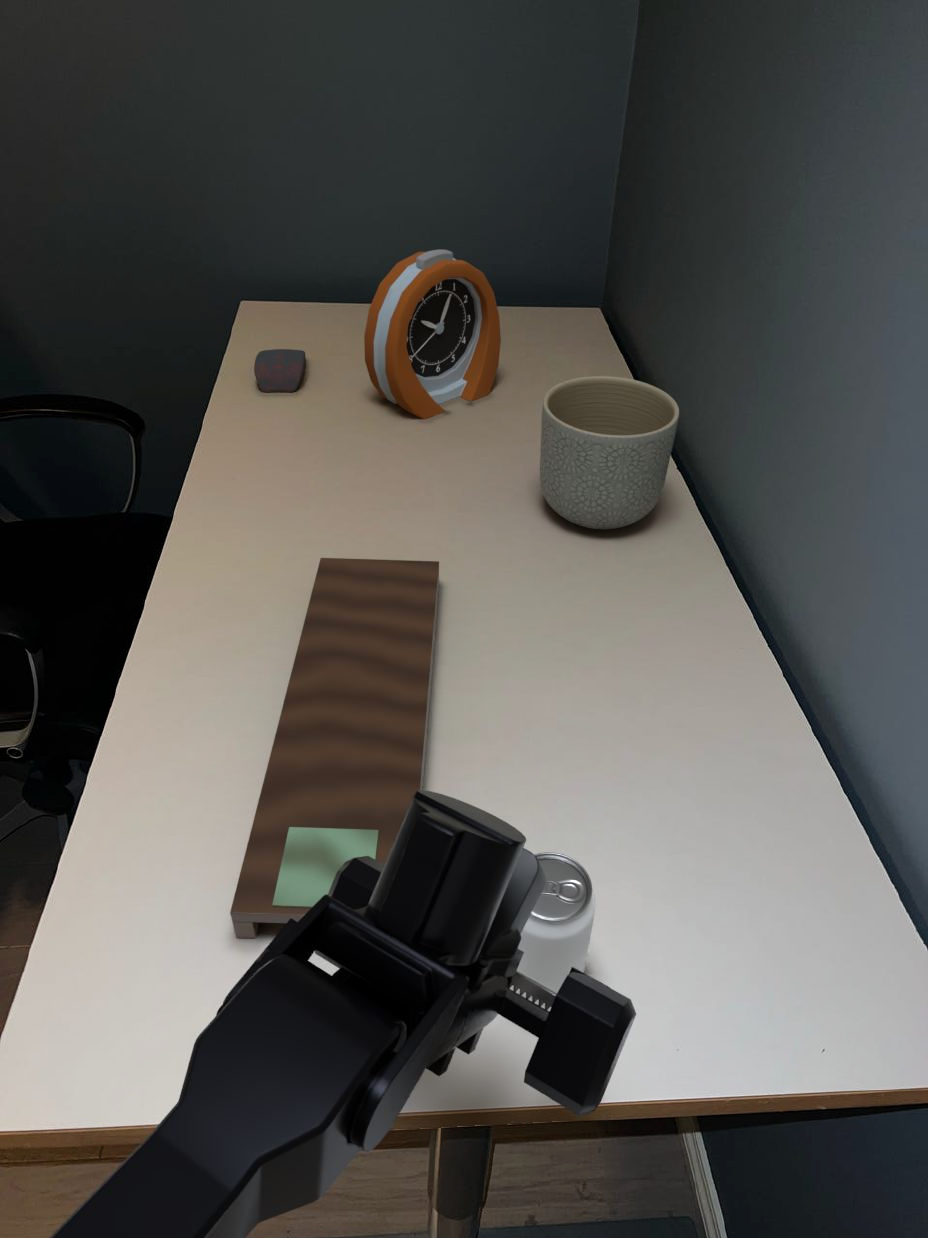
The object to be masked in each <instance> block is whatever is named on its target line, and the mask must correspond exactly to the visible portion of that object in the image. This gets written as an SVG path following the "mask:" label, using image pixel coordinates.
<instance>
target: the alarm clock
mask: <svg viewBox="0 0 928 1238" xmlns="http://www.w3.org/2000/svg"><path fill="white" fill-rule="evenodd" d="M381 280H382V281H380V282H379V285H378V287H377V290H376V292H375V295H374V296H373V299H372V302H371V304H370V306H369V308H368V312H367V313H368V314H367V319H366V325H365V329H364V335H363V341H364V342H363V343H364V362H365V366H366V370H367V373H368V376H369V379H370V382H371V383H372V385H373V387H374V388H375V390H376V391H377V393H378V394H379V396H381V397H382V398H384V399H385V400H387V401H389V402H391V403H392V404H394V405H396V404H397V405H398V406H399V407H400V408H402V409H403V410H405V411H406V412H408V413H410V414H412V415H414V416H415V417H417V418H419V419H423V420H424V419H425V420H426V419H429V418H432V417H435V416H437V415H440V414H442V413H445V412H446V410H445V409H444V408H443V407H442V406H441V405H440V404H443V403H445V402H448V401H451V400H454V399H457V398H459V397H461V399H464V400H466V401H468V402H473V401H475V400H479V399H481V398H483V397H486V396H489V395H490V392H491V390H492V388H493V386H494V383H495V378H496V374H497V371H498V368H499V362H500V351H501V343H502V342H501V341H502V338H501V322H500V321H501V320H500V313H499V310H498V305H497V301H496V295H495V292H494V290H493V288H492V286H491V284H490V283H489V281H488V279H487V277H486V275H485V273H484V271H483V272H482V271H481V270H480V269H478V268H476V267H475V266H473V265H472V264H471V263H469V262H468V261H465V260H462V259H456V258H455V257H454V253H453V252H452V251H451V250H448V249H432V250H428V251H417V252H416V253H414V254H412V255H410V256H408V257H406V258H403V260H400V261H398V262H396V264H395V265H394V266H393V267H392V268H391V270H390V271H389V272H388V273H387V275H385V277H384V278H383V279H381Z"/></svg>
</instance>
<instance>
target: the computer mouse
mask: <svg viewBox="0 0 928 1238" xmlns="http://www.w3.org/2000/svg"><path fill="white" fill-rule="evenodd" d="M305 367H306V352H305V350H302V349H290V348H274V349H263V350H260V351H259V352H258V353H257V354H256V357H255V359H254V365H253V372H254V377H255V380H256V382H257V384H258V387H259V389H260V390H261V392H263V393H294V392H296V391H297V390H298V389H299V387H300V386H301V384H302V382H303V378H304V373H305V369H306V368H305Z"/></svg>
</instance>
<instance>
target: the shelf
mask: <svg viewBox="0 0 928 1238" xmlns="http://www.w3.org/2000/svg"><path fill="white" fill-rule="evenodd" d="M439 592H440V561H437V560H435V561H434V560H408V559H378V558H377V559H375V558H374V559H373V558H372V559H371V558H346V557H345V558H343V557H342V558H340V557H336V558H335V557H320V558H319V563H318V567H317V570H316V575H315V577H314V582H313V587H312V590H311V593H310V598H309V602H308V606H307V610H306V614H305V617H304V618H305V619H304V621H303V625H302V629H301V633H300V637H299V641H298V645H297V649H296V652H295V656H294V659H293V660H294V661H293V664H292V669H291V673H290V677H289V680H288V685H287V687H286V691H285V696H284V700H283V704H282V706H281V712H280V716H279V719H278V723H277V727H276V731H275V735H274V739H273V744H272V746H271V750H270V755H269V759H268V762H267V766H266V771H265V774H264V779H263V782H262V786H261V790H260V794H259V799H258V802H257V806H256V809H255V813H254V817H253V822H252V825H251V828H250V833H249V837H248V841H247V845H246V849H245V853H244V857H243V861H242V864H241V869H240V872H239V876H238V880H237V884H236V887H235V893H234V896H233V900H232V904H231V908H230V912H229V915H230V919H231V923H232V926H233V930H234V934H235V938H237V939H256V938H257V934H258V930H259V926H260V923H267V924H286V923H287V922H288V921H289V920H290V919H291V918H292V919H293V920H295V921H297V922H298V921H299V920H300V919H301V918H302V917H303V916H304V915H305V914H306V913H307V912H308V911H309V910H310V909H311V908H312V907H313V906H314V905H315V904H316V903H317V902H318V901H319V900H320V899H321V898H322V897H323V896H324V895H326V894H327V895H328V892H329V890H330V887H331V885H332V883H333V880H334V878H335V875H336V873H337V871H338V870H339V869H340V868H341V866H342V865H343V864H344V863H345V862H346V861H349V860H351V859H353V858H356V857H363V856H370V857H372V858H373V859H375V860H377V861H379V862H381V863H383V864H385V862H386V860H387V857H388V855H389V852H390V850H391V848H392V845H393V843H394V840H395V838H396V835H397V833H398V831H399V828H400V826H401V823H402V821H403V819H404V816H405V814H406V811H407V809H408V807H409V804H410V802H411V799H412V797H413V795H414V794H415V793H416V791H417V790H424V777H425V764H426V752H427V741H428V729H429V727H428V726H429V715H430V703H431V689H432V680H433V679H432V678H433V668H434V667H433V665H434V653H435V642H436V629H437V628H436V627H437V616H438V615H437V614H438V602H439Z"/></svg>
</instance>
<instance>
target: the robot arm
mask: <svg viewBox="0 0 928 1238" xmlns="http://www.w3.org/2000/svg"><path fill="white" fill-rule="evenodd" d="M526 843H527V837H526V836H525V834H523V833H522V832H521V831H520V830H518V829H517V828H516V827H514V826H513V825H512V824H510V823H508V822H507V821H505V820H504V819H502V818H499V817H497V816H496V815H494V814H492V813H490V812H487V811H486V810H484V809H481V808H479V807H477V806H474V805H473V804H470V803H468V802H465V801H462V800H460V799H457V798H455V797H452V796H448V795H446V794H442V793H439V792H435V791H430V790H426V789H425V790H424V789H423V790H417V791H416V793H415V794H414V795H413V797H412V799H411V802H410V804H409V807H408V809H407V811H406V814H405V816H404V819H403V821H402V823H401V826H400V828H399V831H398V833H397V835H396V838H395V840H394V843H393V845H392V848H391V850H390V852H389V855H388V857H387V860H386V862H385V864H383V863H381V862H379V861H377V860H375V859H373V858H372V857H370V856H363V857H356V858H353V859H351V860H349V861H346V862H345V863H344V864H343V865H342V866H341V868H340V869H339V870H338V871H337V873H336V875H335V878H334V880H333V883H332V885H331V887H330V890H329V892H328V895H327V894H326V895H324V896H323V897H322V898H321V899H320V900H319V901H318V902H317V903H316V904H315V905H314V906H313V907H312V908H311V909H310V910H309V911H308V912H307V913H306V914H305V915H304V916H303V917H302V918H301V919H300V920H299V921H298V922H297V921H295V920H293V919H292V918H291V919H290V920H289V921H288V922H287V923H285V924H284V926H282V928H281V929H280V931H278V933H277V934H276V935H275V936H274V937H273V938H272V940H271V941H270V943H269V944H268V945H267V946H266V947H265V948H264V950H263V951H262V952H261V953H260V955H258V957H257V958H256V960H254V962H253V963H252V964H251V965H250V966H249V968H248V969H247V970H246V971H245V973H244V974H243V975H242V976H241V977H240V978H239V980H238V981H237V982H236V983H235V984H234V985H233V987H232V988H231V989H230V991H228V993H227V995H226V996H225V998H224V1000H223V1001H222V1004H221V1005H220V1006H219V1008H218V1009H217V1011H216V1014H215V1016H214V1017H213V1019H212V1020H211V1021H210V1022H209V1023H208V1025H206V1027H205V1028H204V1029H203V1030H202V1031H201V1032H200V1033H199V1035H198V1036H197V1037H196V1039H195V1040H194V1041H195V1042H194V1044H193V1047H192V1051H191V1054H190V1058H189V1061H188V1066H187V1069H186V1072H185V1076H184V1079H183V1083H182V1087H181V1091H180V1093H179V1098H178V1101H177V1102H176V1103H175V1105H174V1106H173V1107H172V1108H171V1109H170V1111H169V1112H168V1113H167V1114H166V1115H165V1116H164V1118H163V1119H162V1120H161V1121H160V1122H159V1123H158V1124H157V1126H156V1127H155V1128H154V1129H153V1130H152V1132H151V1133H150V1134H149V1135H148V1136H147V1137H146V1138H145V1139H143V1141H142V1142H141V1143H140V1144H139V1145H138V1146H137V1147H136V1148H135V1149H134V1150H133V1151H132V1152H131V1153H130V1154H129V1155H128V1156H127V1157H126V1158H125V1159H124V1160H123V1161H122V1162H121V1163H120V1164H119V1165H118V1166H117V1167H116V1168H115V1170H114V1171H113V1172H111V1173H110V1174H109V1175H108V1176H107V1178H106V1179H105V1180H104V1181H102V1182H101V1184H99V1186H98V1187H96V1188H95V1190H94V1191H93V1192H92V1193H91V1194H90V1195H88V1197H87V1198H85V1200H84V1201H83V1202H82V1203H81V1204H80V1205H79V1206H78V1207H77V1208H76V1209H75V1210H74V1211H73V1212H72V1213H71V1214H70V1216H68V1217H67V1219H65V1221H63V1222H62V1223H61V1224H60V1226H58V1228H56V1230H54V1232H53V1233H51V1234H50V1236H48V1238H247V1237H248V1236H249V1235H250V1234H251V1232H252V1231H253V1230H254V1229H255V1228H256V1227H257V1225H259V1224H260V1223H262V1222H265V1221H269V1220H270V1219H272V1218H275V1217H278V1216H281V1215H284V1214H286V1213H289V1212H291V1211H294V1210H297V1209H300V1208H302V1207H305V1206H308V1205H310V1204H313V1203H315V1202H317V1201H318V1200H320V1199H321V1198H322V1197H323V1195H325V1193H326V1192H327V1191H328V1190H329V1188H330V1187H331V1186H332V1185H333V1184H334V1182H335V1181H336V1180H337V1179H338V1178H339V1176H340V1175H341V1174H342V1173H343V1172H344V1170H345V1169H347V1167H348V1166H349V1164H350V1163H351V1162H353V1159H354V1158H355V1157H356V1156H357V1155H358V1154H359V1152H360V1151H361V1150H362V1151H363V1152H365V1153H370V1152H371V1151H373V1150H374V1149H375V1148H376V1147H377V1146H378V1145H379V1144H380V1143H381V1142H382V1140H383V1139H384V1138H385V1137H386V1135H387V1134H388V1133H389V1132H390V1130H391V1128H392V1127H393V1125H394V1123H395V1122H396V1121H397V1119H398V1117H399V1115H400V1113H401V1112H402V1110H403V1109H404V1106H405V1105H406V1103H407V1101H408V1100H409V1098H410V1097H411V1095H412V1093H413V1091H414V1090H415V1088H416V1086H417V1085H418V1083H419V1081H420V1079H421V1077H422V1076H423V1074H424V1073H425V1071H426V1070H428V1071H429V1072H430V1073H432V1074H434V1075H436V1076H438V1077H441V1076H442V1075H444V1074H445V1073H446V1072H447V1071H448V1068H449V1066H450V1064H451V1061H452V1059H453V1056H454V1054H455V1051H456V1049H458V1050H460V1051H461V1052H462V1053H465V1054H466V1055H470V1054H471V1053H473V1052H474V1051H475V1050H476V1048H477V1045H478V1042H479V1041H480V1038H481V1035H482V1033H483V1031H484V1029H485V1027H487V1026H488V1025H490V1023H492V1022H493V1021H494V1020H495V1019H496V1018H497V1016H498V1015H499V1016H501V1017H502V1018H504V1019H505V1020H507V1021H509V1022H511V1023H512V1024H514V1025H516V1026H518V1027H520V1028H521V1029H523V1030H524V1031H526V1032H528V1033H529V1034H531V1035H533V1036H535V1037H536V1038H538V1039H537V1041H536V1044H535V1046H534V1049H533V1051H532V1053H531V1056H530V1058H529V1060H528V1063H527V1065H526V1069H525V1071H524V1078H523V1083H524V1084H526V1085H528V1086H529V1087H531V1088H532V1089H534V1090H536V1092H539V1093H540V1094H542V1095H544V1096H545V1097H547V1098H549V1099H550V1100H552V1101H553V1102H555V1103H557V1104H559V1106H562V1107H563V1108H565V1109H566V1110H568V1111H570V1112H571V1113H573V1114H574V1115H576V1116H578V1117H580V1118H581V1117H583V1116H585V1115H589V1114H590V1113H592V1112H595V1111H596V1110H597V1108H598V1107H599V1105H600V1104H601V1102H602V1101H603V1098H604V1096H605V1093H606V1091H607V1088H608V1086H609V1083H610V1081H611V1078H612V1075H613V1073H614V1071H615V1069H616V1065H617V1063H618V1061H619V1058H620V1056H621V1053H622V1051H623V1048H624V1046H625V1043H626V1041H627V1039H628V1036H629V1034H630V1032H631V1029H632V1026H633V1023H634V1021H635V1019H636V1016H637V1012H636V1010H635V1007H634V1004H633V1002H632V999H631V998H629V997H627V996H626V995H624V994H622V993H620V992H619V991H616V990H614V989H612V988H611V987H610V986H608V985H607V984H605V983H603V982H601V981H599V980H597V979H596V978H594V977H592V976H590V975H589V974H586V973H585V972H584V973H583V972H581V971H579V970H577V969H576V968H574V967H572V968H571V970H570V973H569V974H568V975H567V977H566V978H565V980H564V982H563V984H562V986H561V987H560V989H559V991H558V993H555V992H554V991H552V990H550V989H548V988H547V987H545V986H543V985H541V984H539V983H538V982H536V981H534V980H532V979H531V978H529V977H527V976H525V975H523V974H522V973H520V972H518V971H517V968H518V966H519V964H520V961H521V959H522V956H523V954H524V952H523V951H521V950H519V949H518V946H519V944H520V941H521V932H522V930H523V928H524V926H525V924H526V922H527V920H528V918H529V916H530V914H531V912H532V910H533V908H534V906H535V904H536V902H537V900H538V898H539V897H540V895H541V894H542V892H543V890H544V887H545V885H546V876H545V873H544V871H543V869H542V867H541V865H540V864H539V862H538V860H537V858H536V857H535V854H534V853H533V852H532V851H530V850H528V849H526V848H525V844H526ZM314 954H315V955H317V956H318V957H320V958H321V959H323V960H325V961H327V962H328V963H329V964H331V965H332V966H334V967H336V968H337V970H336V971H334V973H332V974H330V973H328V972H327V971H325V970H324V969H322V968H320V967H319V966H317V965H316V964H315V963H313V962H311V961H309V960H310V959H311V957H312V956H313V955H314ZM512 986H514V988H513V990H511V989H509V988H511V987H512ZM518 989H520V994H518V993H516V991H517V990H518ZM524 993H526V998H525V997H523V996H522V995H523V994H524ZM531 996H532V1001H530V1000H528V999H529V998H530V997H531ZM537 1000H539V1005H537V1004H535V1002H536V1001H537ZM544 1003H545V1009H544V1008H542V1007H541V1006H542V1005H543V1004H544ZM550 1007H551V1009H550V1012H549V1011H548V1009H549V1008H550Z"/></svg>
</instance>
